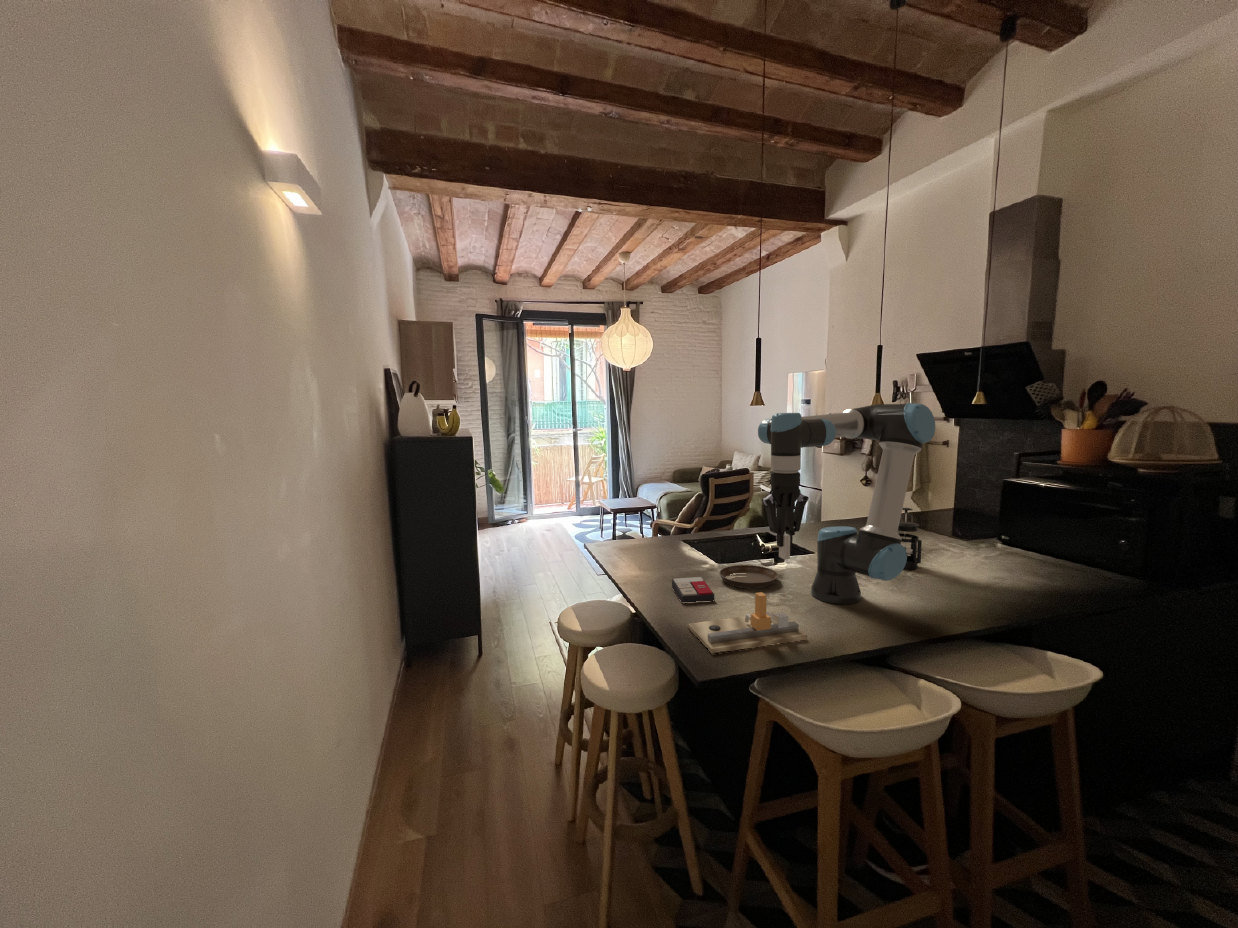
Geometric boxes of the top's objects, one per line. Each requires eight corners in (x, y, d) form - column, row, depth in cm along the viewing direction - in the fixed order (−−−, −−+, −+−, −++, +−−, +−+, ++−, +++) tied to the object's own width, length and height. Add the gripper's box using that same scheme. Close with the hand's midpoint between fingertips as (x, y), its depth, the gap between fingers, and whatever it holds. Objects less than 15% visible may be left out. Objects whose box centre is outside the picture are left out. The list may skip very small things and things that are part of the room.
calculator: (681, 594, 162) (671, 577, 177) (681, 607, 163) (671, 588, 178) (714, 592, 163) (701, 575, 178) (714, 604, 164) (701, 586, 179)
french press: (883, 563, 199) (885, 506, 196) (901, 560, 202) (903, 504, 199) (909, 572, 188) (912, 512, 185) (927, 569, 191) (930, 509, 188)
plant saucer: (708, 576, 189) (708, 568, 189) (755, 569, 196) (755, 561, 196) (740, 595, 170) (740, 585, 169) (790, 586, 177) (790, 577, 177)
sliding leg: (752, 619, 144) (752, 583, 143) (770, 634, 135) (771, 595, 134) (739, 621, 143) (739, 585, 142) (757, 636, 134) (757, 597, 133)
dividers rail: (780, 618, 146) (780, 601, 146) (799, 632, 137) (799, 614, 137) (697, 629, 140) (697, 612, 140) (711, 645, 131) (711, 626, 130)
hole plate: (774, 616, 151) (775, 611, 151) (807, 640, 136) (807, 634, 135) (687, 628, 144) (687, 623, 144) (711, 654, 129) (711, 648, 129)
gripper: (799, 468, 138) (797, 551, 141) (755, 470, 135) (755, 556, 137) (816, 471, 131) (814, 559, 133) (770, 474, 128) (769, 564, 130)
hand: (784, 557), depth 135 cm, fingers closed
